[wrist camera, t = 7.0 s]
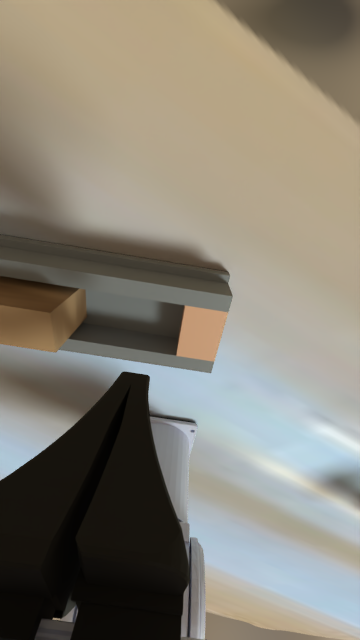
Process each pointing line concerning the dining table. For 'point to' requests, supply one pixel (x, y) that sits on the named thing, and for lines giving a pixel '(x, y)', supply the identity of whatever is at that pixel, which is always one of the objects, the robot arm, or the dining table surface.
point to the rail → (131, 302)
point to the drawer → (39, 313)
